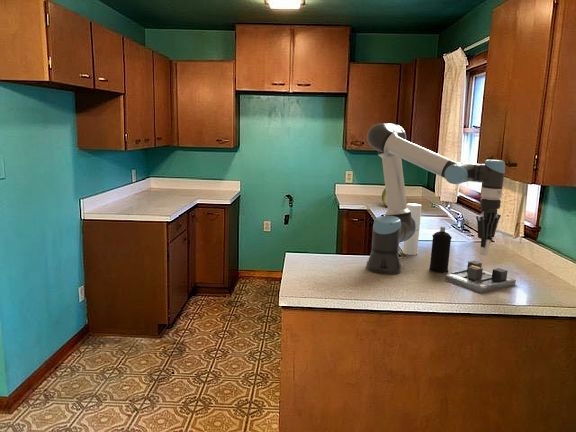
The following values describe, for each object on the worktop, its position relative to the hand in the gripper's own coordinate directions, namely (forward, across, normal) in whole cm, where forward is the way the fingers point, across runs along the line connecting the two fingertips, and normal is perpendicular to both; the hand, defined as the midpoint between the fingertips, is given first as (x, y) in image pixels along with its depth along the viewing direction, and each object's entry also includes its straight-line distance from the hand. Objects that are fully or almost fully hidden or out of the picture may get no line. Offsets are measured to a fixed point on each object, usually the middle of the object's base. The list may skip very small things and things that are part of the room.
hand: (483, 254), depth 194 cm
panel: (+12, -1, 0) cm, 12 cm away
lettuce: (+13, +97, +155) cm, 183 cm away
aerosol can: (+12, -4, +19) cm, 23 cm away
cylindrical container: (+12, +6, +46) cm, 48 cm away
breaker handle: (+10, -5, 0) cm, 11 cm away
